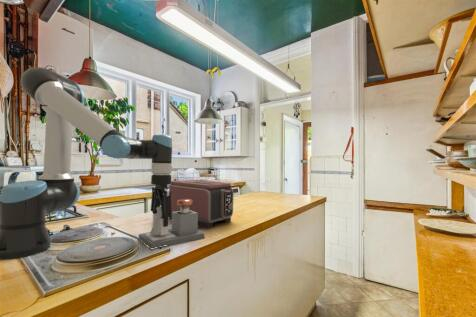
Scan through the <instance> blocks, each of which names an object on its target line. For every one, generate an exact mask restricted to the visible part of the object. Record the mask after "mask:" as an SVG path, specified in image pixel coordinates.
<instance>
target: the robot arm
mask: <svg viewBox="0 0 476 317" xmlns="http://www.w3.org/2000/svg"><path fill="white" fill-rule="evenodd" d="M20 86H21V88H22V90H23V92H24V93H26V95H28V96H29V98H32V100H34V101H36V102H37V104H40V105H41V109H42V110H43V111H44V112H45V115H46V116H45V118H46V119H45V131H44V132H45V136H44V154H43V155H44V156H43V173H42V174H41V175H40V176H38V177H37V180H36V179H35V180H26V181H18V182H12V183H8V184H6V185H4V186H3V187H2V188H1V190H0V260H10V259H19V258H24V257H28V256H33V255H36V254H40V253H41V252H44V251H46V250H49V249H50V247H51V246H50V245H52V244H51V243H52V240H51V237H50V236H51V235H50V234H49V232H48V229H47V227H46V215H49V214H51V213H52V214H53V213H55V212H62V211H64V210H67V209H69V208H71V207H73V206H74V205H75V204H76V203H77V202H78V200H79V198H80V194H81V193H80V192H81V191H80V188H79V186H78V184H77V183H76V182H75V176H73V175H72V174H71V160H72V142H73V127H75V128H76V129H77V130H78V131H80V132H82V133H83V134H84V135H85V136H87V137H88V138H89V139H91V140H92V141H93V142H95V143H96V144H97V145H98V146H100V147H101V149H102V152H103V153H104V155H106V156H107V157H109V158H113V159H118V160H119V159H129V160H133V159H134V160H135V159H136V160H138V159H139V160H144V159H145V160H151V171H150V172H151V182H150V183H151V185H154V186H155V187H154V186H153V187H152V188H151V200H150V211H151V213H152V225H153V224H154V222H155V219H156V215H157V209H156V208H157V207H161V212H162V217H160V218H161V236H162V235H167V234H168V227H169V220H170V219H169V217H171V216H172V213H171V190H169V187H168V186H169V185H171V181H172V175H171V174H172V169H173V165H172V164H173V163H172V161H173V160H172V158H173V138H172V137H171V136H170V135H168V134H153V135H152V137H151V139H148V140H147V139H136V138H131V137H127V136H125V135H124V134H122V133H121V132H120V131H118V130H117V129H116V128H114V127H113V126H112V125H111V124H110V123H108V122H106V120H104V119H103V118H101V116H98V115H97V114H96V113H95V112H94V111H92V110H91V109H90V108H88V107H87V106H86V105H84V102H85V92H84V89H83V88H82V87H81V86H80V85H79V83H77V82H76V81H74V80H72V79H71V78H68V77H65V76H63V75H61V74H59V73H57V72H54V71H52V70H50V69H49V68H45V67H37V66H36V67H31V68H28V69H27V70H25V71H24V72H23V73H22V75H21V77H20Z"/></svg>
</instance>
